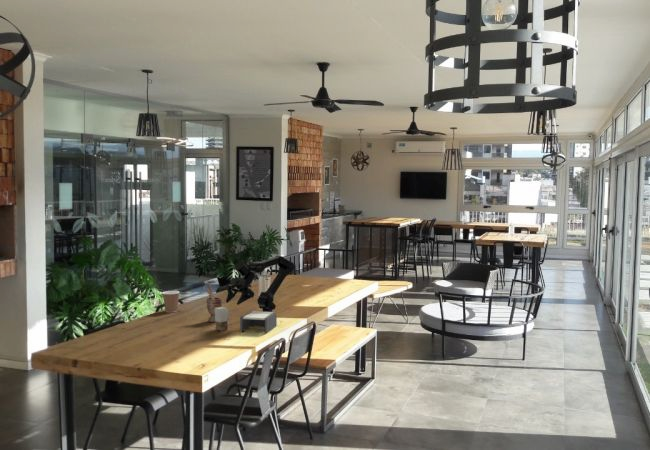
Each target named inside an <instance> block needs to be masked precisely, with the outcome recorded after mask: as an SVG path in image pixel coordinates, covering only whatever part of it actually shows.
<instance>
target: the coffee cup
mask: <svg viewBox="0 0 650 450" xmlns="http://www.w3.org/2000/svg"><path fill="white" fill-rule="evenodd" d="M162 296H163V303H164V304H163V305H164V310H165V312H166V313H176V312H178V309H179V307H178V306H179V298H180V297H179V296H180V291H178V290H166V291H162Z"/></svg>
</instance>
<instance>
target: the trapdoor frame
mask: <svg viewBox="0 0 650 450" xmlns="http://www.w3.org/2000/svg"><path fill="white" fill-rule="evenodd" d="M252 311H253V310H250V311H248V312H247V313H245V314H243V315H241V316H240V317H239V328H240V329H239V330H240V331H239V332H240V333H243V332H245V331H246V330H248V329H249V328H250V327H252V326H260V327H264V333H265V334H268V333H270V332H271V331H272V330H273V329H275V328H276V327H277V326H278V325H277V323H278V322H277V311H274V312H273V313H272V314H271V315H269V316H268V317H266V318H265V320H254V319H243V317H244V316H246V315H247V314H249V313H251V312H252ZM242 331H243V332H242Z"/></svg>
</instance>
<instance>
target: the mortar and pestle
mask: <svg viewBox="0 0 650 450" xmlns="http://www.w3.org/2000/svg"><path fill="white" fill-rule="evenodd" d="M205 290H206V291H207V294H208V296H209V298H206V308H207V312H208V314H210V317H208V320H207V321H208V322H210V323H216V321H215V308H218V307H223V301H222V300H223V298H222V297H214V294H213V290H212V287H211V286H210V285H207V286H205Z"/></svg>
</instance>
